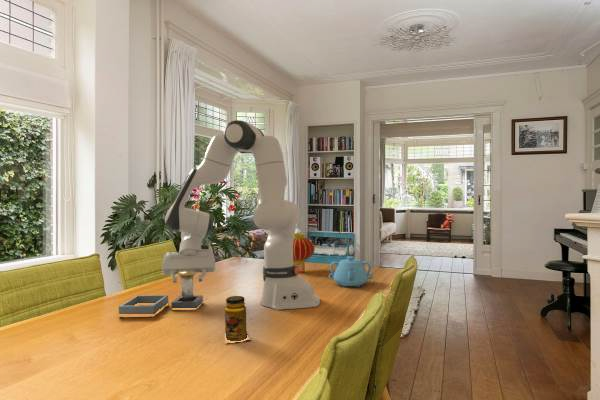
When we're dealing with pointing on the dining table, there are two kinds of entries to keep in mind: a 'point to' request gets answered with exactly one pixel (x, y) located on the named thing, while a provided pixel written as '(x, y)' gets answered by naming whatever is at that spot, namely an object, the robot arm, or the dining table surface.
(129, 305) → the tray
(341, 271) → the blue handled pot
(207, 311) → the dining table surface
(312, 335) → the dining table surface
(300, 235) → the lantern
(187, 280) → the glass jar
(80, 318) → the dining table surface
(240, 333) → the condiment
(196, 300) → the blue-grey square holder
